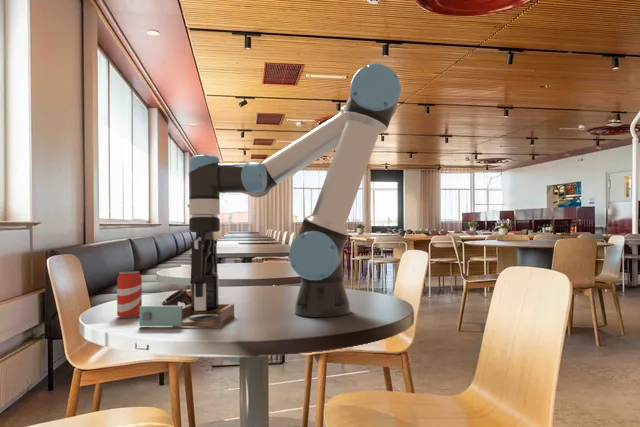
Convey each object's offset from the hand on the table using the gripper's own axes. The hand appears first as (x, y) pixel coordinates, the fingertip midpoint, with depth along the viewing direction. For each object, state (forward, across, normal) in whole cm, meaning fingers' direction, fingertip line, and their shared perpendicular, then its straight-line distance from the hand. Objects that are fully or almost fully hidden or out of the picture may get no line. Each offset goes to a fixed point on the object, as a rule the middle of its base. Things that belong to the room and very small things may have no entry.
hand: (205, 307), depth 115 cm
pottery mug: (+4, -9, -9) cm, 13 cm away
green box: (+4, +8, -8) cm, 12 cm away
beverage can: (+4, -7, -23) cm, 24 cm away
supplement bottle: (+1, 0, 0) cm, 1 cm away
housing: (+4, +1, -3) cm, 5 cm away
